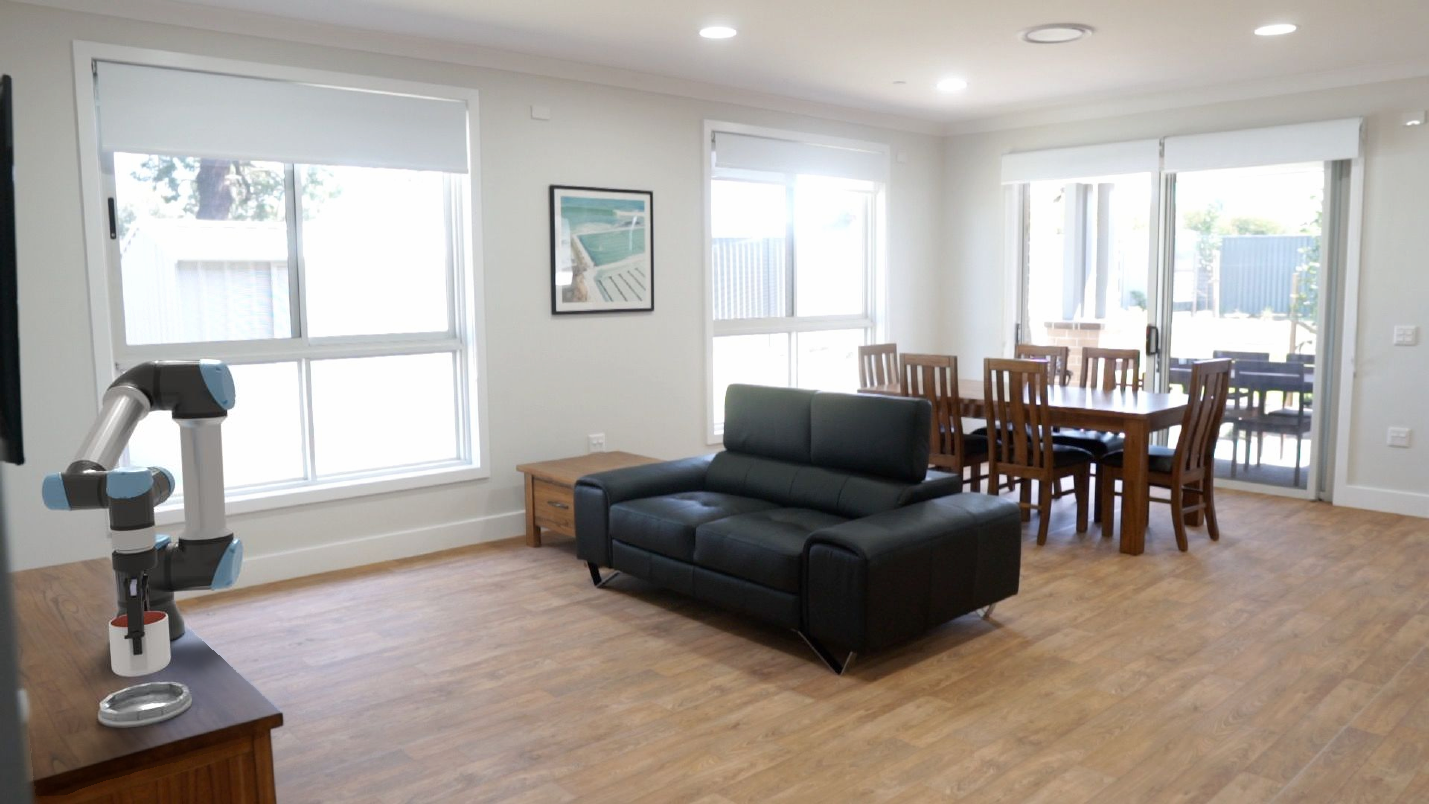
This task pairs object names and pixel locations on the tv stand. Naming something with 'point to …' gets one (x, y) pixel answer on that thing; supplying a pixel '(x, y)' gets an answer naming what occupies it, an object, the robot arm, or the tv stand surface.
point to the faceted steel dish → (144, 704)
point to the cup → (155, 644)
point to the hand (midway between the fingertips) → (141, 660)
